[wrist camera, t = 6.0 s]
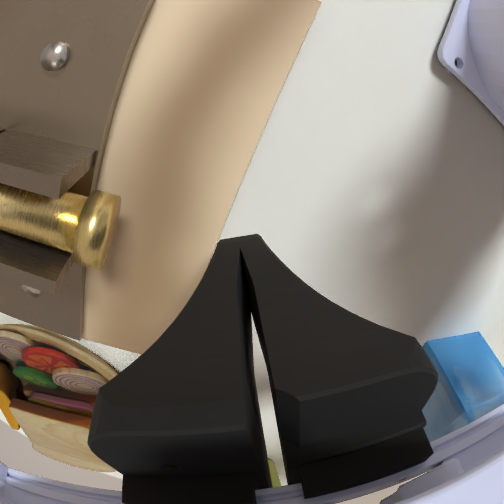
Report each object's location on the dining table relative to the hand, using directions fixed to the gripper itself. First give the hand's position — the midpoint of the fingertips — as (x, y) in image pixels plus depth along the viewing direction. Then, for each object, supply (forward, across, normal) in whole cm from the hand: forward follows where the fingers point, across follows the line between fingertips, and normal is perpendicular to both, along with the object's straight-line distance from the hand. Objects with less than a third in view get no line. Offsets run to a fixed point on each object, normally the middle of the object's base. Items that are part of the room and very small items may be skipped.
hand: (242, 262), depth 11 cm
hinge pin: (+1, +10, -5) cm, 11 cm away
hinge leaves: (+2, +10, -6) cm, 12 cm away
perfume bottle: (+3, -14, +15) cm, 20 cm away
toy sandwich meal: (+3, +14, +10) cm, 17 cm away
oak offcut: (+2, +8, -5) cm, 10 cm away
